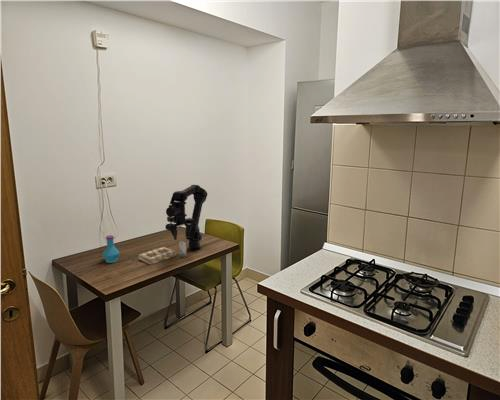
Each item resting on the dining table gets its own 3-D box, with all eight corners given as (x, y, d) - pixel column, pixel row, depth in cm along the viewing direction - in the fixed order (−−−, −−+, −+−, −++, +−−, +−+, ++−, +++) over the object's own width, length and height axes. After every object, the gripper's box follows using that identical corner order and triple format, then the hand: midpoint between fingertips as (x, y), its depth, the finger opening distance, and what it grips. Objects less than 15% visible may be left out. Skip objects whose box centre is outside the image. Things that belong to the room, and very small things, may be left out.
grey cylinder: (183, 254, 213) (183, 240, 211) (187, 256, 211) (187, 242, 209) (178, 256, 210) (178, 242, 208) (182, 257, 208) (182, 243, 206)
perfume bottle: (104, 264, 197) (101, 239, 194) (102, 259, 205) (100, 235, 202) (121, 261, 202) (119, 237, 198) (119, 256, 210) (117, 232, 206)
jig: (163, 251, 219) (163, 246, 218) (175, 255, 211) (175, 251, 210) (138, 259, 205) (138, 254, 204) (150, 264, 198) (150, 259, 197)
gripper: (183, 207, 216) (184, 231, 220) (158, 213, 202) (160, 239, 206) (195, 210, 210) (196, 234, 213) (170, 217, 195) (172, 243, 199)
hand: (181, 237), depth 208 cm, fingers open, 9 cm apart
